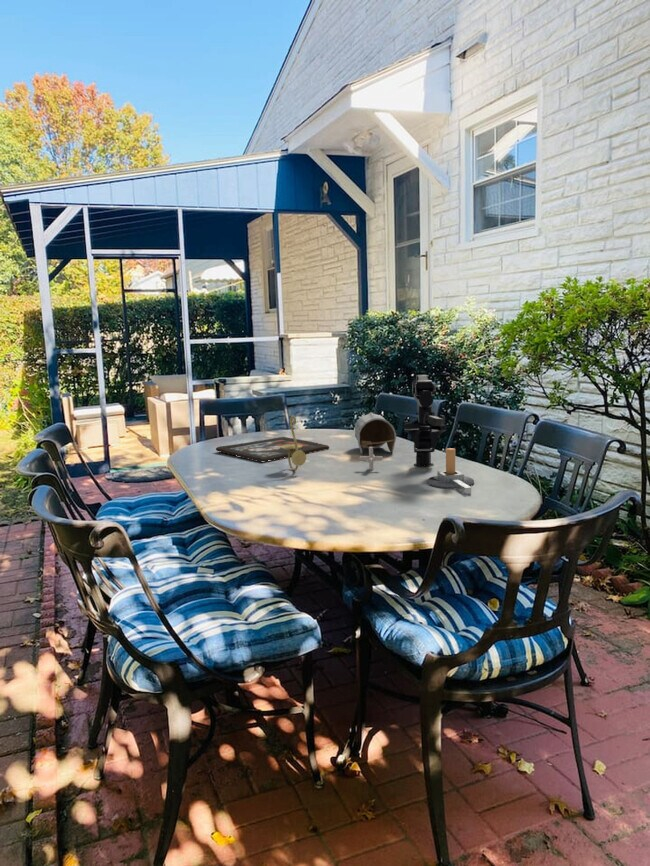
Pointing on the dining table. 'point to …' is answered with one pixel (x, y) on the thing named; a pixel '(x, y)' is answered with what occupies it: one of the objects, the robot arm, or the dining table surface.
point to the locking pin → (450, 461)
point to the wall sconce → (297, 456)
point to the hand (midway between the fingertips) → (425, 447)
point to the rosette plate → (452, 481)
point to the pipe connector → (371, 458)
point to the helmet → (374, 432)
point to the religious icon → (269, 448)
